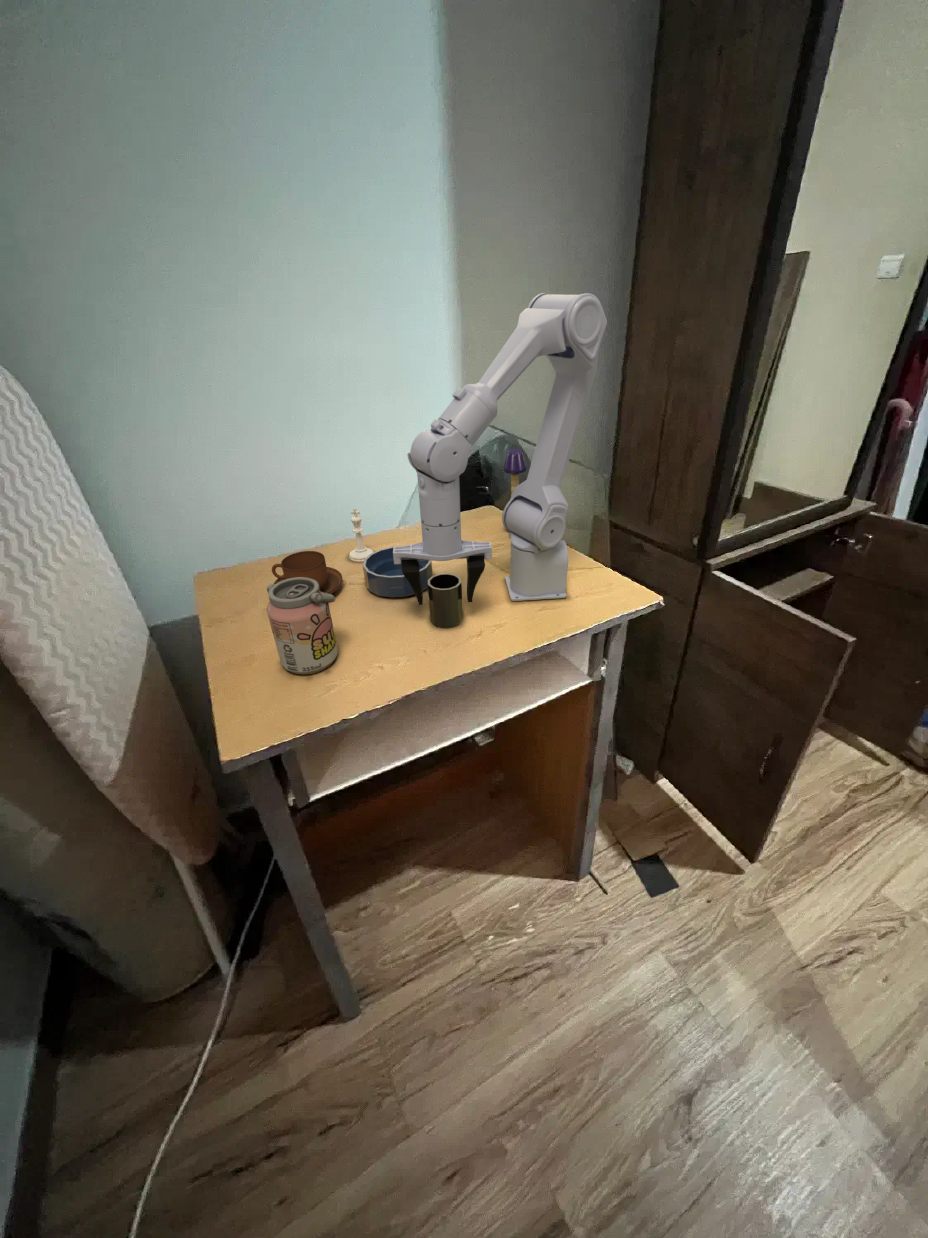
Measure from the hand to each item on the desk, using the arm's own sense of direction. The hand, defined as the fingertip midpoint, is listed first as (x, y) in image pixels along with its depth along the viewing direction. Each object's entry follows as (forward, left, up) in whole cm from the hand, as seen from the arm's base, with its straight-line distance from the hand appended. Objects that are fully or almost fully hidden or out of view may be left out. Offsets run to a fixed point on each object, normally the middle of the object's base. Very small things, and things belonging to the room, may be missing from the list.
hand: (445, 600), depth 83 cm
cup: (0, 0, -4) cm, 4 cm away
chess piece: (+16, -25, -4) cm, 30 cm away
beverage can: (+20, +8, -4) cm, 22 cm away
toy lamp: (-16, -35, -4) cm, 38 cm away
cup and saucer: (+24, -12, -4) cm, 27 cm away
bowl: (+8, -13, -4) cm, 16 cm away
